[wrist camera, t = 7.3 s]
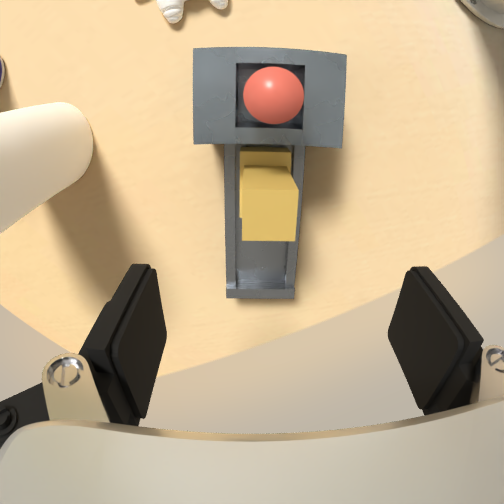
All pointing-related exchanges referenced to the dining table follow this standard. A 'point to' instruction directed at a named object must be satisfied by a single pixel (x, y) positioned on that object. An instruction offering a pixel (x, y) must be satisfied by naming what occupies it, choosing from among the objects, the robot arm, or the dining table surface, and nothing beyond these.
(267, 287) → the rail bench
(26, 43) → the dining table surface
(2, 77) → the energy drink
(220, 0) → the astronaut figurine
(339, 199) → the dining table surface
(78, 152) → the cup
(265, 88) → the button
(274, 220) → the block
